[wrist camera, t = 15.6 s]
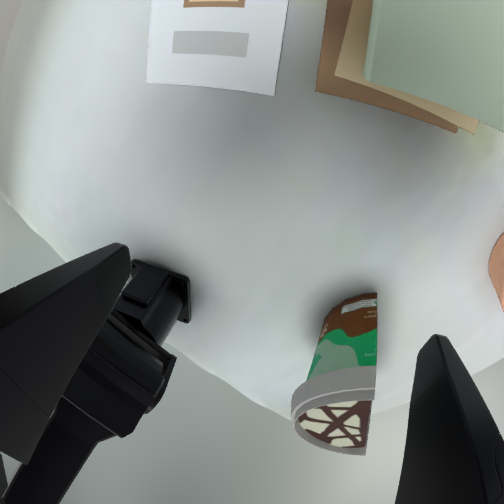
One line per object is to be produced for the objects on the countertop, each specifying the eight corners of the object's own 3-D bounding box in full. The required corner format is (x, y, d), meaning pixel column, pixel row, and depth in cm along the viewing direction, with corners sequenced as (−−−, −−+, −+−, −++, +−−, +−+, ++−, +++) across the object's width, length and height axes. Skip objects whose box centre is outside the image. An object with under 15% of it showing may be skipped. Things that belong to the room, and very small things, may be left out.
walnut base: (443, 123, 15) (456, 133, 13) (319, 87, 16) (315, 91, 14) (464, 10, 10) (480, 5, 8) (334, -30, 11) (332, -42, 9)
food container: (300, 280, 24) (268, 390, 17) (377, 278, 22) (374, 395, 14) (317, 367, 31) (297, 452, 23) (374, 368, 28) (364, 457, 21)
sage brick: (462, 109, 9) (503, 132, 6) (362, 75, 10) (369, 82, 7) (477, 16, 6) (522, 6, 3) (374, -21, 7) (384, -52, 4)
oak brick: (450, 118, 12) (473, 134, 10) (336, 72, 13) (334, 75, 10) (479, 17, 8) (508, 12, 6) (362, -33, 9) (365, -55, 6)
